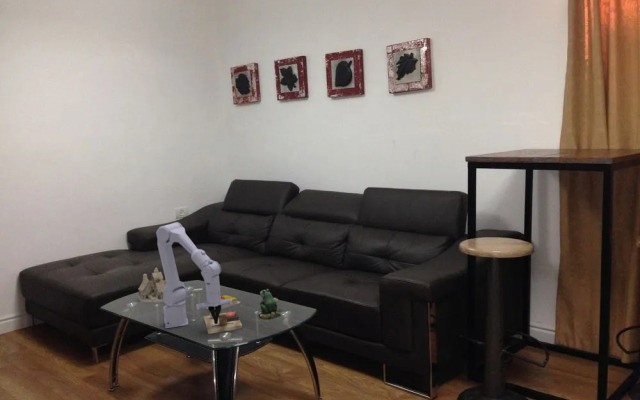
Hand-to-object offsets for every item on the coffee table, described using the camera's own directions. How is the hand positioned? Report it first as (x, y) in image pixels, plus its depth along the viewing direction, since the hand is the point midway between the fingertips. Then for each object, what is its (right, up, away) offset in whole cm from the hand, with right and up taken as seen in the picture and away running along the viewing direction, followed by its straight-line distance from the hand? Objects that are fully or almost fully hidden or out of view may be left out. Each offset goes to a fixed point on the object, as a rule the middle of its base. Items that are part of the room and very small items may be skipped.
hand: (216, 323), depth 228 cm
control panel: (+2, -2, +6) cm, 6 cm away
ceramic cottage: (-39, +1, +47) cm, 61 cm away
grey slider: (-3, 0, +10) cm, 11 cm away
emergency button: (-2, +1, +31) cm, 31 cm away
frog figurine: (+21, 0, +14) cm, 26 cm away
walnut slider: (+3, -1, +1) cm, 3 cm away
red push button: (+5, +1, +7) cm, 9 cm away
